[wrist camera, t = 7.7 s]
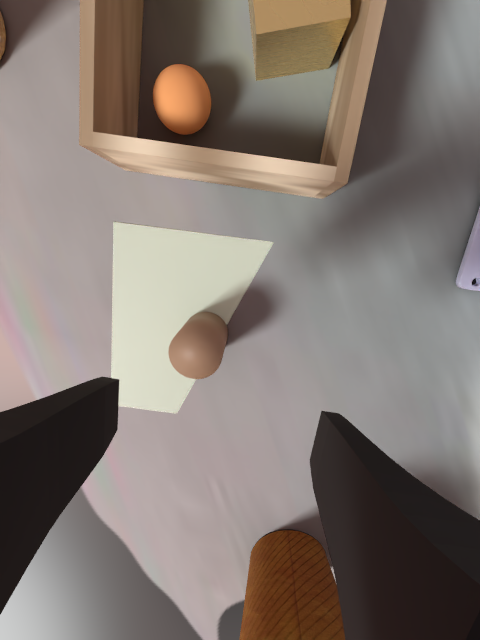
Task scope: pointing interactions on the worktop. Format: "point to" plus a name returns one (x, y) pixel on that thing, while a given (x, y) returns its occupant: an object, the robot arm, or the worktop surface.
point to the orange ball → (182, 99)
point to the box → (204, 163)
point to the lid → (173, 308)
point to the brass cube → (296, 34)
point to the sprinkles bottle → (2, 36)
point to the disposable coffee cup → (290, 591)
